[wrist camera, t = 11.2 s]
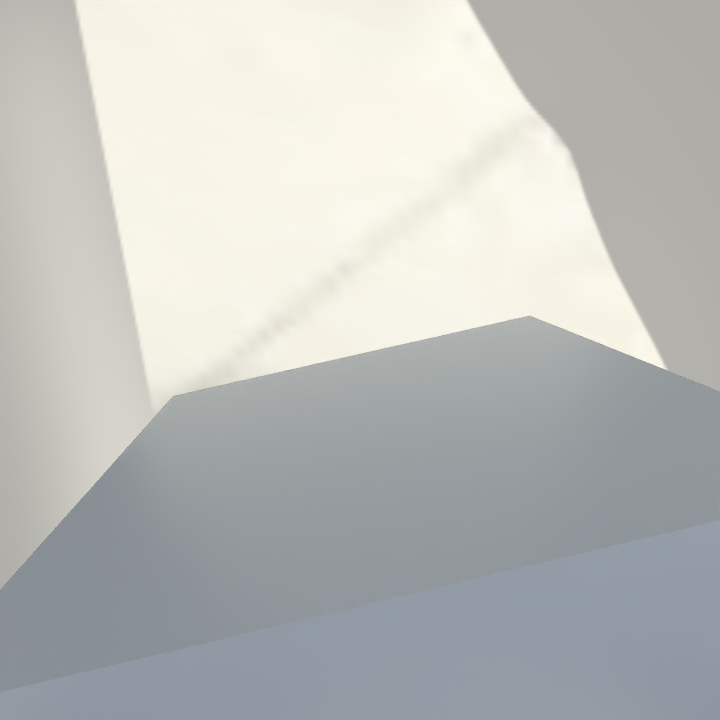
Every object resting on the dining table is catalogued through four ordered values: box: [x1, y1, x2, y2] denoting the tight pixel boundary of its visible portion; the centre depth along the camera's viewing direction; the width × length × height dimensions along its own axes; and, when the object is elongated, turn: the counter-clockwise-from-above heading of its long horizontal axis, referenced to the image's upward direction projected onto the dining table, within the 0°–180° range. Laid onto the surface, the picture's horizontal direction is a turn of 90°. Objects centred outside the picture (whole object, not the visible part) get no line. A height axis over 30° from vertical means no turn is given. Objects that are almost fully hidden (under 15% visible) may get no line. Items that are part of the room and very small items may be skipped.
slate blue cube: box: [0, 316, 720, 720], centre depth 10 cm, size 10×10×9 cm
